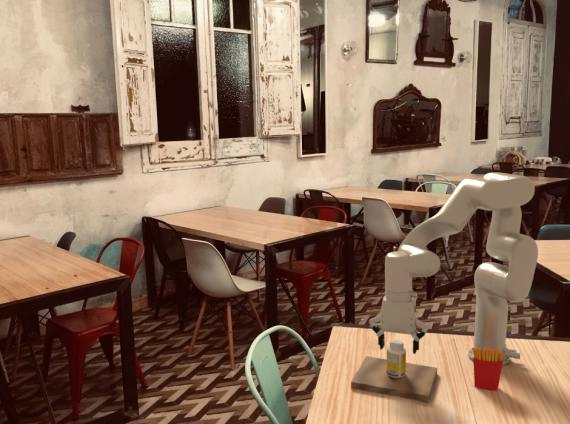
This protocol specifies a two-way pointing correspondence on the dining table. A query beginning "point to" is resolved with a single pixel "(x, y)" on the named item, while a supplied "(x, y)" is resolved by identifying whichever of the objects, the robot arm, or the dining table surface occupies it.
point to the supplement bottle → (396, 359)
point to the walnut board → (395, 380)
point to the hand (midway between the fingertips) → (398, 349)
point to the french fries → (487, 368)
